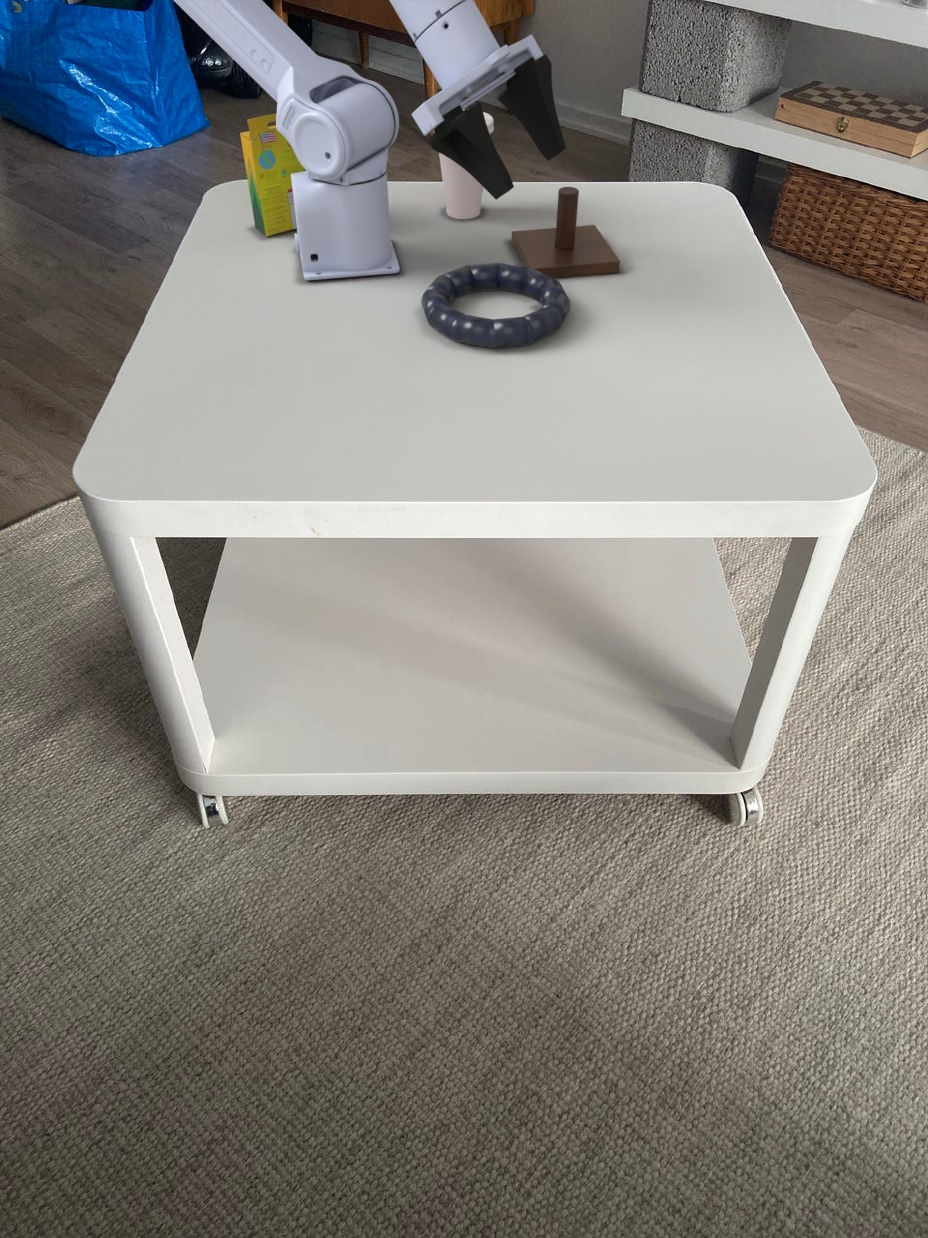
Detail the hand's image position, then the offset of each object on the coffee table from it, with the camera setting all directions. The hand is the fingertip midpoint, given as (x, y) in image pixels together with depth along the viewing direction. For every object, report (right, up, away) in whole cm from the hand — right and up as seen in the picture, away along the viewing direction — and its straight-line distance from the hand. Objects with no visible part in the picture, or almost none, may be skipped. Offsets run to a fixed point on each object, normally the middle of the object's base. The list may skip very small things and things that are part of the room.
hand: (531, 173), depth 84 cm
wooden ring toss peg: (+4, -1, +15) cm, 16 cm away
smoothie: (-6, +6, +24) cm, 25 cm away
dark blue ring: (-3, -9, +6) cm, 11 cm away
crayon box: (-25, +4, +21) cm, 33 cm away
